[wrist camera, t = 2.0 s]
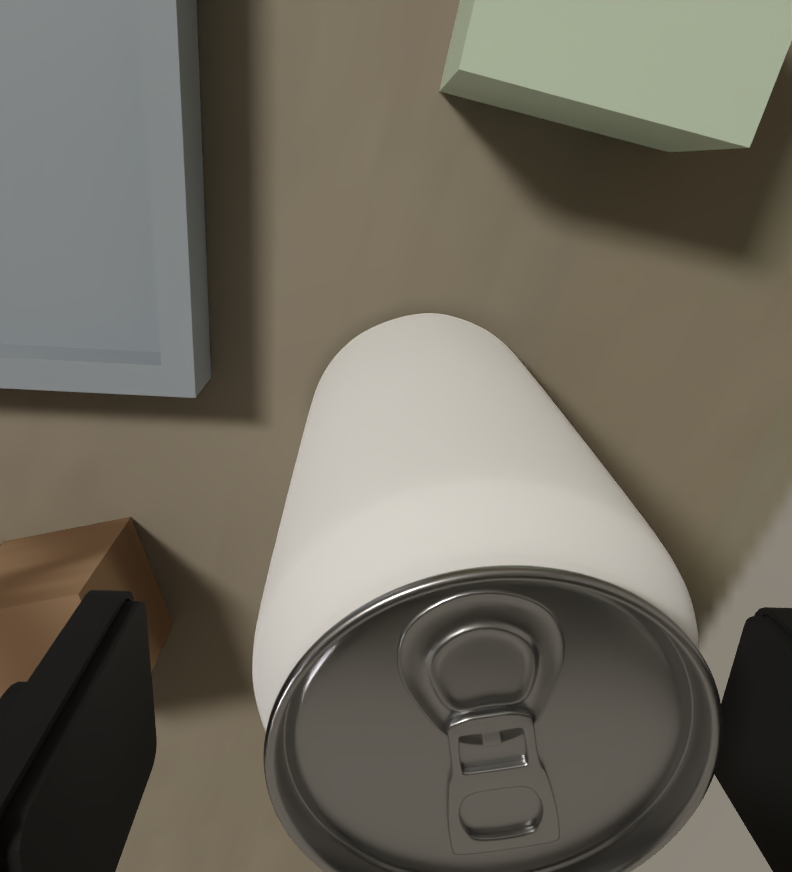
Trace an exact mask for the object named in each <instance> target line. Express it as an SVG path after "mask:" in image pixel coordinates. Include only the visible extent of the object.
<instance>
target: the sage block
mask: <svg viewBox="0 0 792 872" xmlns="http://www.w3.org/2000/svg"><path fill="white" fill-rule="evenodd" d="M791 41H792V0H460V3H459V7H458V12H457V16H456V20H455V25H454V29H453V34H452V38H451V42H450V47H449V51H448V56H447V60H446V64H445V69H444V73H443V78H442V82H441V86H440V91H439V92H443V93H447V94H451V95H454V96H458V97H462V98H466V99H469V100H473V101H477V102H481V103H485V104H488V105H492V106H496V107H500V108H503V109H507V110H511V111H515V112H518V113H522V114H526V115H530V116H534V117H537V118H541V119H545V120H549V121H552V122H556V123H560V124H564V125H567V126H571V127H575V128H579V129H583V130H586V131H590V132H594V133H598V134H601V135H605V136H609V137H613V138H616V139H620V140H624V141H628V142H632V143H635V144H639V145H643V146H647V147H650V148H654V149H658V150H662V151H665V152H684V151H702V150H720V149H738V148H750V146H751V143H752V141H753V138H754V136H755V133H756V130H757V128H758V125H759V123H760V120H761V118H762V115H763V112H764V110H765V107H766V105H767V102H768V100H769V97H770V95H771V92H772V89H773V87H774V84H775V82H776V79H777V77H778V74H779V72H780V69H781V66H782V64H783V61H784V59H785V56H786V54H787V51H788V49H789V46H790V43H791Z"/></svg>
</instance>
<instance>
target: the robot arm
mask: <svg viewBox="0 0 792 872" xmlns="http://www.w3.org/2000/svg"><path fill="white" fill-rule="evenodd" d="M721 709H722V721H723V733H722V744H721V751H720V755H719V760H718V763H717V767H716V770H715V773H714V774H715V776H716V777H717V779H718V781H719V783H720V784H721V786H722V788H723V789H724V791H725V793H726V794H727V796H728V798H729V799H730V801H731V803H732V804H733V806H734V807H735V809H736V811H737V812H738V814H739V816H740V817H741V819H742V821H743V822H744V824H745V826H746V827H747V829H748V831H749V832H750V834H751V836H752V837H753V839H754V841H755V842H756V844H757V845H758V847H759V849H760V851H761V852H762V854H763V856H764V857H765V859H766V861H767V862H768V864H769V865H770V867H771V869H772V870H773V872H792V608H766V607H765V608H761V609H759V610H758V611H757V612H756V613H755V616H753V617H750V618H748V619H747V620H746V623H745V625H744V628H743V632H742V635H741V639H740V643H739V645H738V649H737V652H736V655H735V659H734V662H733V666H732V669H731V672H730V677H729V679H728V683H727V686H726V689H725V693H724V696H723V700H722V703H721ZM155 754H156V727H155V714H154V702H153V689H152V676H151V664H150V651H149V638H148V625H147V613H146V605H145V603H144V602H143V601H134V597H133V594H132V593H131V592H130V591H115V590H91V591H89V592H88V593H87V594H86V595H85V596H84V598H83V599H82V601H81V602H80V604H79V605H78V607H77V608H76V610H75V611H74V613H73V614H72V616H71V617H70V619H69V620H68V622H67V623H66V625H65V626H64V628H63V629H62V630H61V632H60V633H59V635H58V636H57V638H56V639H55V641H54V642H53V644H52V645H51V647H50V648H49V650H48V651H47V653H46V654H45V656H44V657H43V659H42V660H41V662H40V663H39V665H38V666H37V667H36V669H35V670H34V672H33V673H32V675H31V676H30V678H29V679H28V681H27V682H20V681H18V682H16V683H14V684H12V685H11V686H10V687H9V688H8V689H7V690H6V691H5V692H4V694H3V695H2V696H1V698H0V872H115V870H116V868H117V865H118V862H119V859H120V857H121V854H122V851H123V848H124V845H125V843H126V840H127V837H128V834H129V831H130V829H131V826H132V823H133V820H134V818H135V815H136V812H137V809H138V806H139V804H140V801H141V798H142V795H143V792H144V790H145V787H146V784H147V781H148V779H149V776H150V773H151V770H152V767H153V764H154V759H155Z"/></svg>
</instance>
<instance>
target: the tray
mask: <svg viewBox="0 0 792 872" xmlns="http://www.w3.org/2000/svg"><path fill="white" fill-rule="evenodd" d="M210 378H211V355H210V330H209V304H208V279H207V253H206V228H205V202H204V177H203V151H202V126H201V100H200V75H199V50H198V24H197V0H0V388H6V389H26V390H46V391H66V392H86V393H106V394H126V395H146V396H166V397H186V398H196V397H197V395H198V394H199V393H200V391H201V390H202V389H203V388H204V386H205V385H206V384H207V382H208V381H209V380H210Z"/></svg>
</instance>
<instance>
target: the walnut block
mask: <svg viewBox="0 0 792 872" xmlns="http://www.w3.org/2000/svg"><path fill="white" fill-rule="evenodd" d="M91 590H115V591H130V592H131V593H132V594H133V597H134V601H143V602H144V603H145V605H146V613H147V625H148V638H149V651H150V664H151V673H152V671H153V668H154V666H155V664H156V661H157V659H158V657H159V655H160V652H161V650H162V648H163V645H164V643H165V641H166V638H167V636H168V634H169V631H170V629H171V627H172V624H173V622H172V619H171V617H170V614H169V612H168V609H167V607H166V604H165V602H164V599H163V597H162V594H161V592H160V589H159V587H158V584H157V582H156V579H155V577H154V574H153V571H152V569H151V566H150V564H149V561H148V559H147V556H146V554H145V551H144V549H143V546H142V544H141V541H140V539H139V536H138V534H137V531H136V528H135V526H134V523H133V521H132V518H131V517H128V518H123V519H118V520H113V521H107V522H102V523H97V524H92V525H87V526H82V527H77V528H71V529H66V530H61V531H56V532H51V533H46V534H40V535H35V536H30V537H25V538H20V539H15V540H9V541H4V542H3V543H2V544H1V545H0V698H1V696H2V695H3V694H4V692H5V691H6V690H7V689H8V688H9V687H10V686H11V685H12V684H14V683H16V682H18V681H20V682H27V681H28V679H29V678H30V676H31V675H32V673H33V672H34V670H35V669H36V667H37V666H38V665H39V663H40V662H41V660H42V659H43V657H44V656H45V654H46V653H47V651H48V650H49V648H50V647H51V645H52V644H53V642H54V641H55V639H56V638H57V636H58V635H59V633H60V632H61V630H62V629H63V628H64V626H65V625H66V623H67V622H68V620H69V619H70V617H71V616H72V614H73V613H74V611H75V610H76V608H77V607H78V605H79V604H80V602H81V601H82V599H83V598H84V596H85V595H86V594H87V593H88V592H89V591H91Z"/></svg>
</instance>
